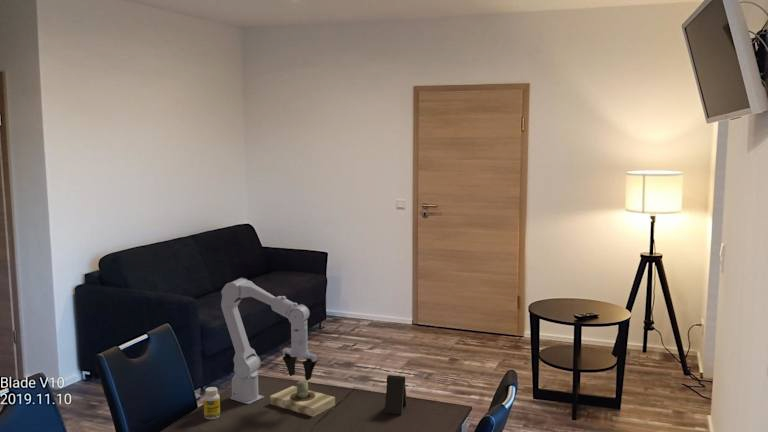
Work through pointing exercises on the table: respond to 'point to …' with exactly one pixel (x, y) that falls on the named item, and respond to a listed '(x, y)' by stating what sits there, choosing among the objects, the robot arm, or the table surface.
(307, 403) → the socket board
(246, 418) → the table surface
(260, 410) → the table surface
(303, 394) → the green peg
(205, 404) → the supplement bottle
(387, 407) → the phone stand
